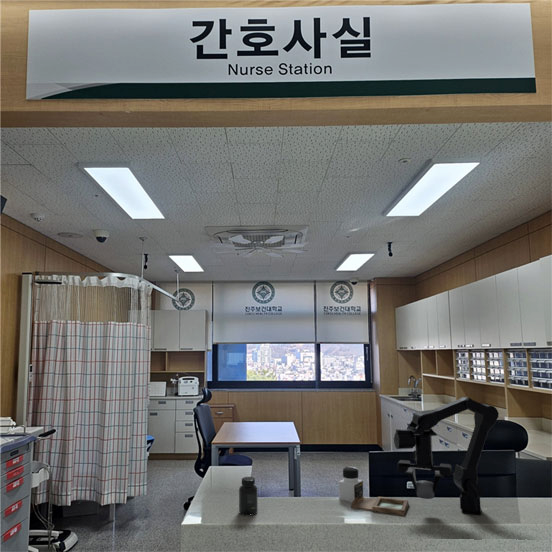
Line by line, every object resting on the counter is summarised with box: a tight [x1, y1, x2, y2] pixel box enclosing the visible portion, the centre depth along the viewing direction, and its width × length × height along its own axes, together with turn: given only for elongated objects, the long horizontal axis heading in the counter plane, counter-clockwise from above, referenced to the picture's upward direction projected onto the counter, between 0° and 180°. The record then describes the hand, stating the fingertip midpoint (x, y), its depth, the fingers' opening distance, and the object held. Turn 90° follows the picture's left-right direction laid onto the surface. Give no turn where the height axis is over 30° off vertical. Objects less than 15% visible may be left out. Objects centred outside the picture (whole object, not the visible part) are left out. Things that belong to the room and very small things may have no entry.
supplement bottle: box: [238, 476, 259, 516], centre depth 179 cm, size 7×7×12 cm
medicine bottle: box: [338, 466, 364, 503], centre depth 193 cm, size 7×7×12 cm
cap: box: [416, 480, 435, 500], centre depth 177 cm, size 6×6×5 cm
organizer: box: [350, 496, 409, 516], centre depth 183 cm, size 19×11×2 cm, turn 67°
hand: (425, 492), depth 176 cm, fingers closed on cap, 6 cm apart
